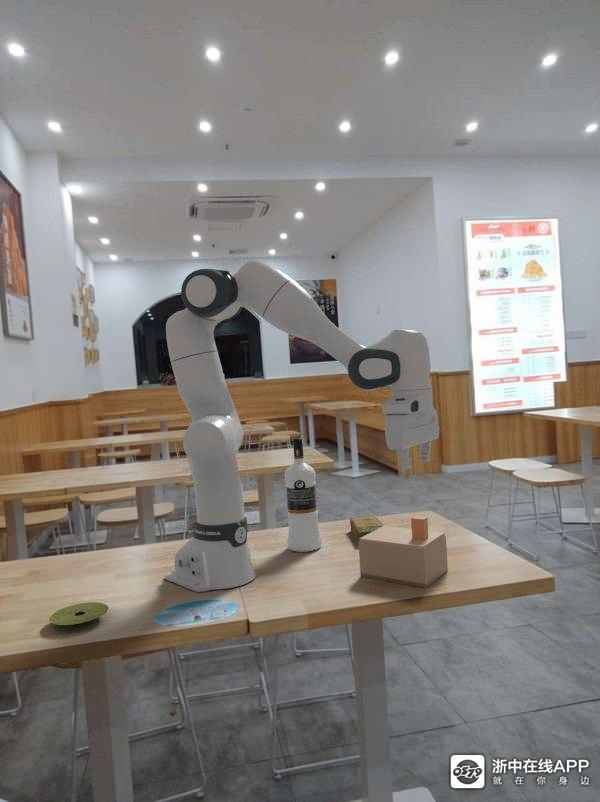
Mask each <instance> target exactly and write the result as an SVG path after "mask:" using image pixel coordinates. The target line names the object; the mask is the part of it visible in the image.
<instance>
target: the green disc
mask: <svg viewBox="0 0 600 802" xmlns="http://www.w3.org/2000/svg"><path fill="white" fill-rule="evenodd" d="M108 611H109V605H107V604H106V603H104V602H98V601H97V602H95V601H90V602H81V603H76V604H72V605H69V606H64V607H63V608H60V609H58V610H56V611H55V612H53V614H51V615H50V616H49V618H48V619H49V623H51V624H54V625H59V626H70V625H71V626H72V625H76V624H83V623H86V622H90V621H93V620H95V619H98V618H101V617H102V616H103V615H105V614H106V613H107V612H108Z"/></svg>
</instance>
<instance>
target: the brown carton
mask: <svg viewBox="0 0 600 802" xmlns="http://www.w3.org/2000/svg"><path fill="white" fill-rule="evenodd" d="M447 547H448V546H447V536H446V535H445V536H444V537H443V538H441V539H440V540H438V541H437V542H435V543H434V544H432V545H431V546H429V547H428V548H426V549H425V550H417V549H410V548H402V547H394V546H387V545H379V544H371V543H364V542H359V545H358V555H359V570H360V578H366V579H370V580H371V579H373V580H376V581H377V580H378V581H383V582H384V581H385V582H389V583H390V582H391V583H395V584H401V585H407V586H411V587H412V586H414V587H419V588H425V589H427V588H428V587H429V586H430V585H432V584H433V583H434V582H435V581H437V580H438V579H439V578H440V577H442V576H443V575H444V574H445V573H447V572H448V571H449V568H448V567H449V566H448V551H447V549H448V548H447ZM441 575H442V576H441Z"/></svg>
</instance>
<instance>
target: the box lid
mask: <svg viewBox="0 0 600 802" xmlns="http://www.w3.org/2000/svg"><path fill="white" fill-rule="evenodd" d="M410 521H411V523H410V525H411V528H406V527H405V528H404V527H397V526H396V527H395V526H386V525H384V526H383V527H381V528H379V529H377V530H375V531H373V532H371V533H369V534H367V535H365V536H363V537H361V538H359V539H360V542H364V543H371V544H379V545H387V546H394V547H402V548H410V549H417V550H425V549H426V548H428V547H429V546H431V545H432V544H434V543H435V542H437V541H438V540H440V539H441V538H443V537H444V536H446V535H445V533H446V532H442V531H441V532H440V531H433V530H432V531H431V530H429V523H428V522H429V521H428V517H427V516H417V515H416V516H415V515H414V516H413V517H411V518H410Z"/></svg>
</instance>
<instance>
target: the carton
mask: <svg viewBox="0 0 600 802" xmlns="http://www.w3.org/2000/svg"><path fill="white" fill-rule="evenodd" d="M349 523H350V532H351V533H352V536H353V537H354V538H355V540H356V543H357V544H358V546H359V542H360V539H359V538H361V537H363V536H365V535H367V534H369V533H371V532H373V531H375V530H377V529H379V528H381V527H383V526H385V525H384V524H383V522H382V521H381V520H380V519H379V518H378V516H364V517H363V516H362V517H354V518H353V517H352V518H349Z"/></svg>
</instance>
